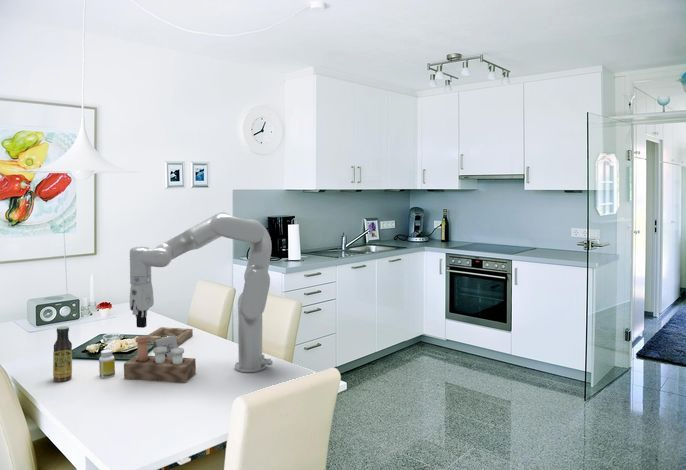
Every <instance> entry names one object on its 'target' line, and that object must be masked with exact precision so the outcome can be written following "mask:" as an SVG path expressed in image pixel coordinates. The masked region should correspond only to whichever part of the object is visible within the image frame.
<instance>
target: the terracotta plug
mask: <svg viewBox="0 0 686 470" xmlns="http://www.w3.org/2000/svg"><path fill="white" fill-rule="evenodd" d="M148 341H149V337H148V336H147V335H141V336H137V337H135V343H137V355H138V362H147V361H148V356H149V350H148V349H149V348H148V347H149V346H148Z"/></svg>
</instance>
